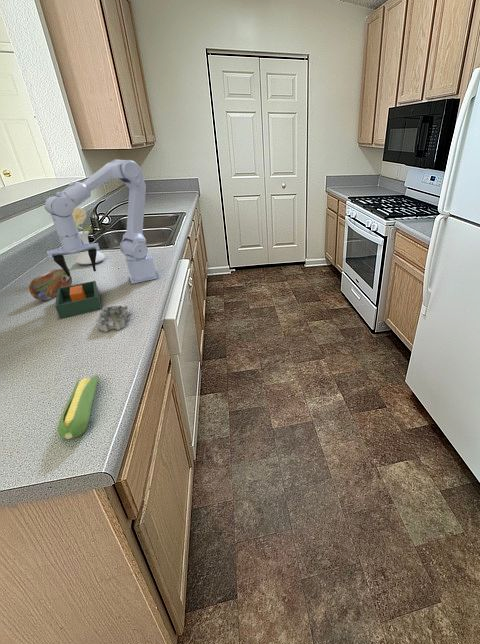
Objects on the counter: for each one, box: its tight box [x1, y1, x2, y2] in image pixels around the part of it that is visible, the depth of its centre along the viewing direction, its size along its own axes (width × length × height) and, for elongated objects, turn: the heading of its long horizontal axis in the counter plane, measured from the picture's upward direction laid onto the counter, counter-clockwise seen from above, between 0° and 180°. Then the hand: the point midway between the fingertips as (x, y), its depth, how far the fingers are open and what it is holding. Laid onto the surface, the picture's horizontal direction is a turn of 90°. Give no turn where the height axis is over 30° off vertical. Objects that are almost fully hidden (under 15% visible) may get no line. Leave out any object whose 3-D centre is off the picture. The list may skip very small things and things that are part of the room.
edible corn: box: [57, 374, 99, 440], centre depth 70 cm, size 5×20×5 cm, turn 19°
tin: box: [28, 268, 73, 301], centre depth 119 cm, size 15×3×8 cm, turn 168°
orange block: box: [70, 285, 86, 302], centre depth 112 cm, size 4×7×5 cm, turn 31°
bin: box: [54, 280, 102, 320], centre depth 113 cm, size 12×16×4 cm
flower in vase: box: [72, 206, 106, 265], centre depth 144 cm, size 13×11×25 cm
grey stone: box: [95, 305, 130, 333], centre depth 101 cm, size 11×8×4 cm
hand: (82, 272), depth 114 cm, fingers open, 7 cm apart
